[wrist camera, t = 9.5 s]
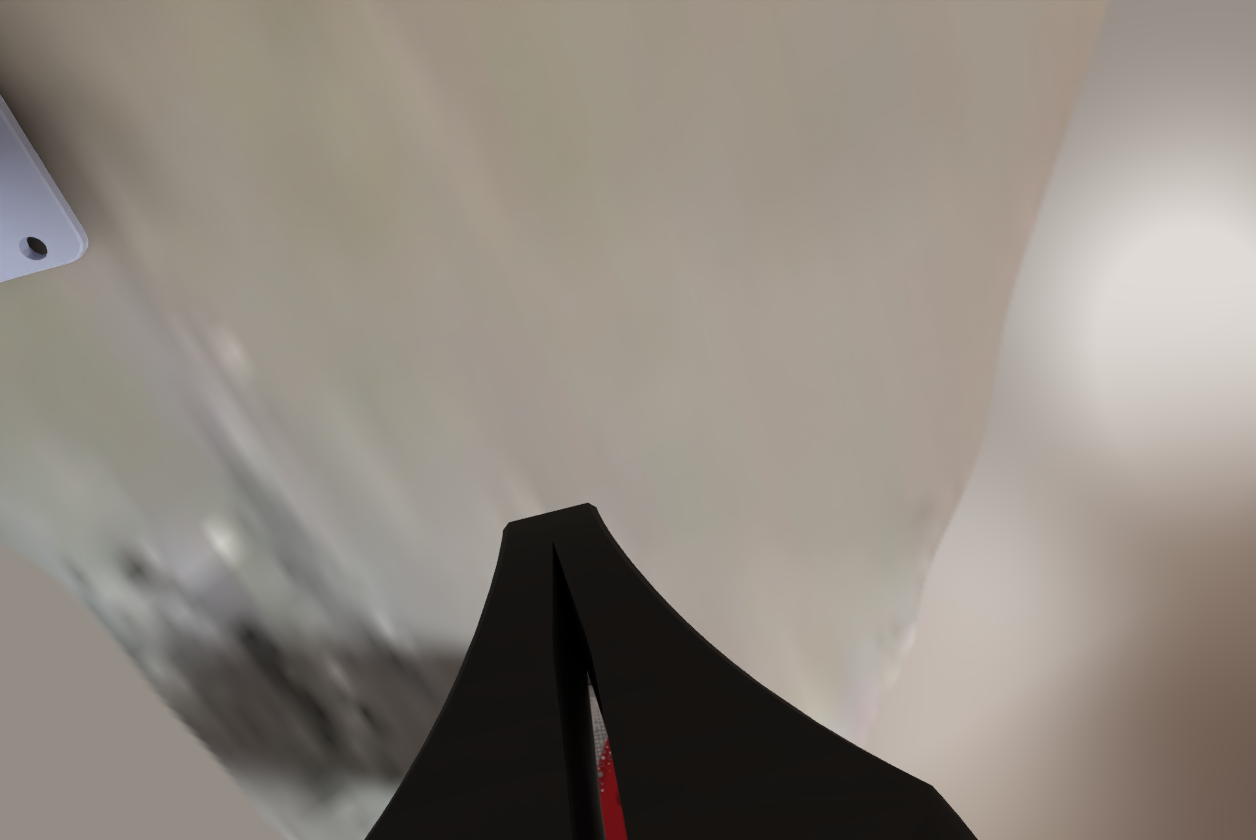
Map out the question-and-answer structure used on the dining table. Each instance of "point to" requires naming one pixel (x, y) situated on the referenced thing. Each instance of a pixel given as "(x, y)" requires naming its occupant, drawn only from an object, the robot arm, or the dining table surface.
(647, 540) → the dining table surface
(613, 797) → the soda can
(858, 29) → the dining table surface
